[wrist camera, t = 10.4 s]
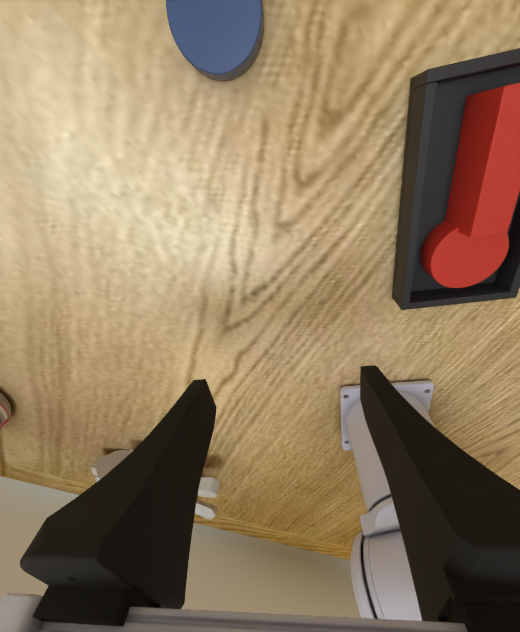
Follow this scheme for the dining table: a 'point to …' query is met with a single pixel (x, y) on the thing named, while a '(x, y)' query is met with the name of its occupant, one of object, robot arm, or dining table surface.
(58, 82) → the dining table surface
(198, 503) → the white faceted figure
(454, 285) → the red spoon
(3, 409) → the soda can
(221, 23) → the blue spoon
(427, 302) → the tray
